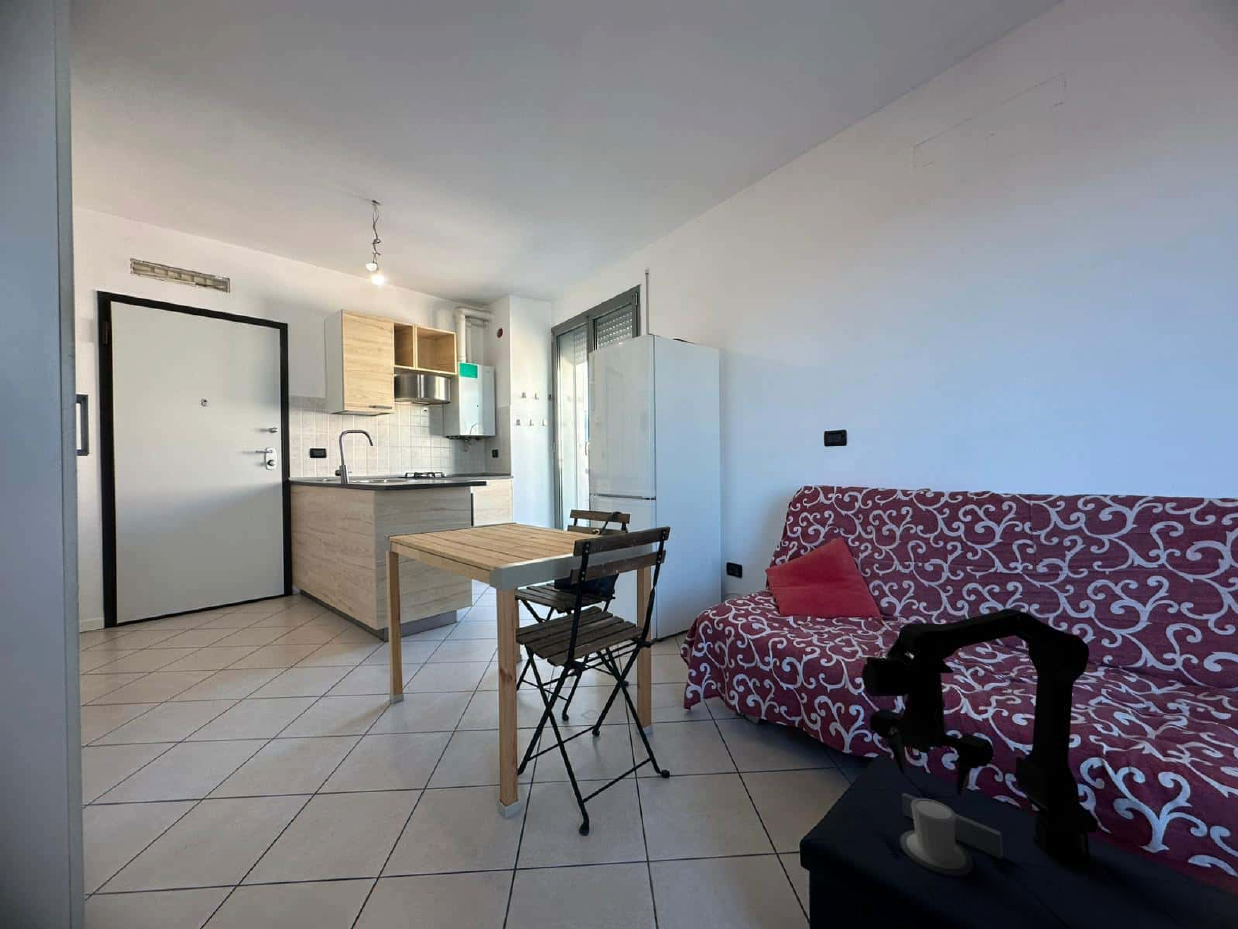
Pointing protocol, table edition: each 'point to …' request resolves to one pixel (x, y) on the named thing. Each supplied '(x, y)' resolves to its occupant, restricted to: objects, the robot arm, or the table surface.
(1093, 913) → the table surface
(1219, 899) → the table surface
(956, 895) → the table surface
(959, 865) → the grey round disc
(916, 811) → the shot glass
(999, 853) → the low wall
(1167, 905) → the table surface
